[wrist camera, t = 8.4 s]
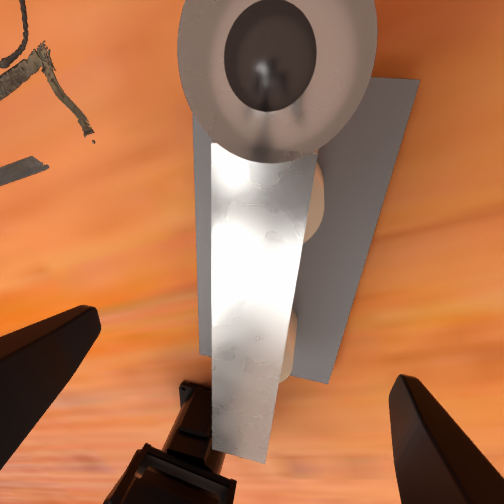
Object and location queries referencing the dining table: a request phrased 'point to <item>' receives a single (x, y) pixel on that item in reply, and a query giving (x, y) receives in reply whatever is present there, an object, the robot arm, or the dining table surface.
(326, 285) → the tool rack
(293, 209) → the spanner
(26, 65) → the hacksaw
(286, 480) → the dining table surface
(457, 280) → the dining table surface
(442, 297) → the dining table surface
